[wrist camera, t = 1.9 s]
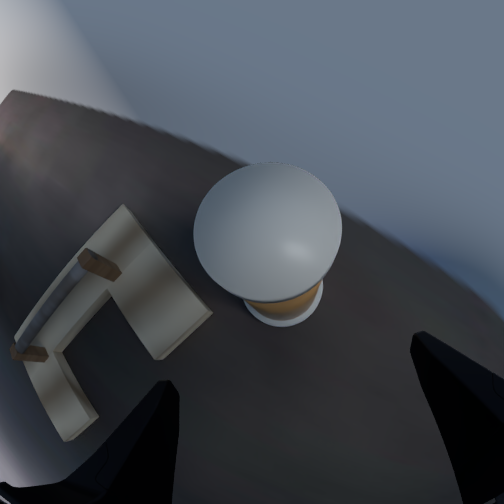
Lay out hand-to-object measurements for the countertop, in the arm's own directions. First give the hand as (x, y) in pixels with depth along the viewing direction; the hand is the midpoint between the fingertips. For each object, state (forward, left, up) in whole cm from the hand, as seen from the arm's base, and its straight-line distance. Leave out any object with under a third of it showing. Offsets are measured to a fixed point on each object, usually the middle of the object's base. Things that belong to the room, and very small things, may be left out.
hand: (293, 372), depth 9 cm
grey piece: (+2, +19, -12) cm, 23 cm away
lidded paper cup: (+5, +1, -12) cm, 13 cm away
